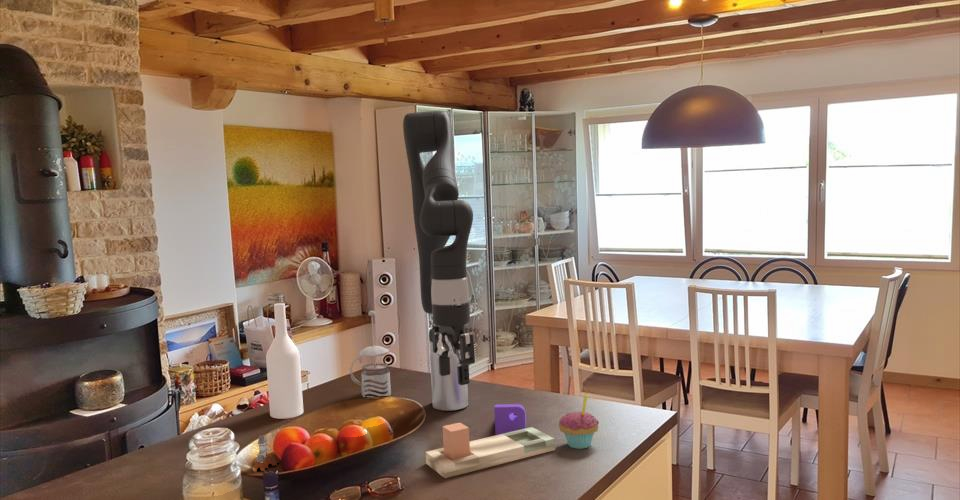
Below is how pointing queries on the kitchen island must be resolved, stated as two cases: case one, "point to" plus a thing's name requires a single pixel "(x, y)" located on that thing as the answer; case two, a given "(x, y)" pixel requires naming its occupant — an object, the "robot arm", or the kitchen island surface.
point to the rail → (492, 452)
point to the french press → (374, 370)
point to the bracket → (509, 418)
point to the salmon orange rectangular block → (456, 441)
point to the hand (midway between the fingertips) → (454, 379)
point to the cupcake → (579, 427)
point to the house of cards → (262, 449)
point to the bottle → (283, 371)
